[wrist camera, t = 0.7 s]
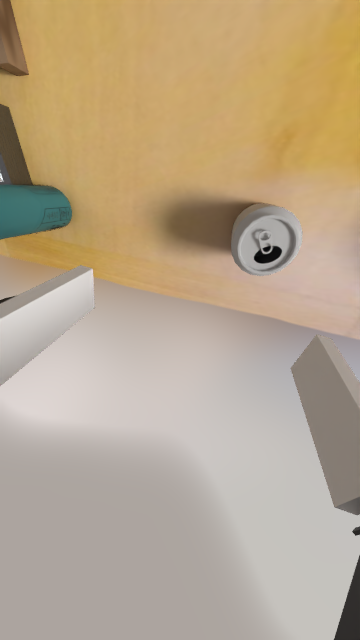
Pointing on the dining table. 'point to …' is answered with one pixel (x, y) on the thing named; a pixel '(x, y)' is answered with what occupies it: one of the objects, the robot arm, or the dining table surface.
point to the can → (265, 239)
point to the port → (11, 153)
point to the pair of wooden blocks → (10, 42)
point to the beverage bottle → (32, 209)
